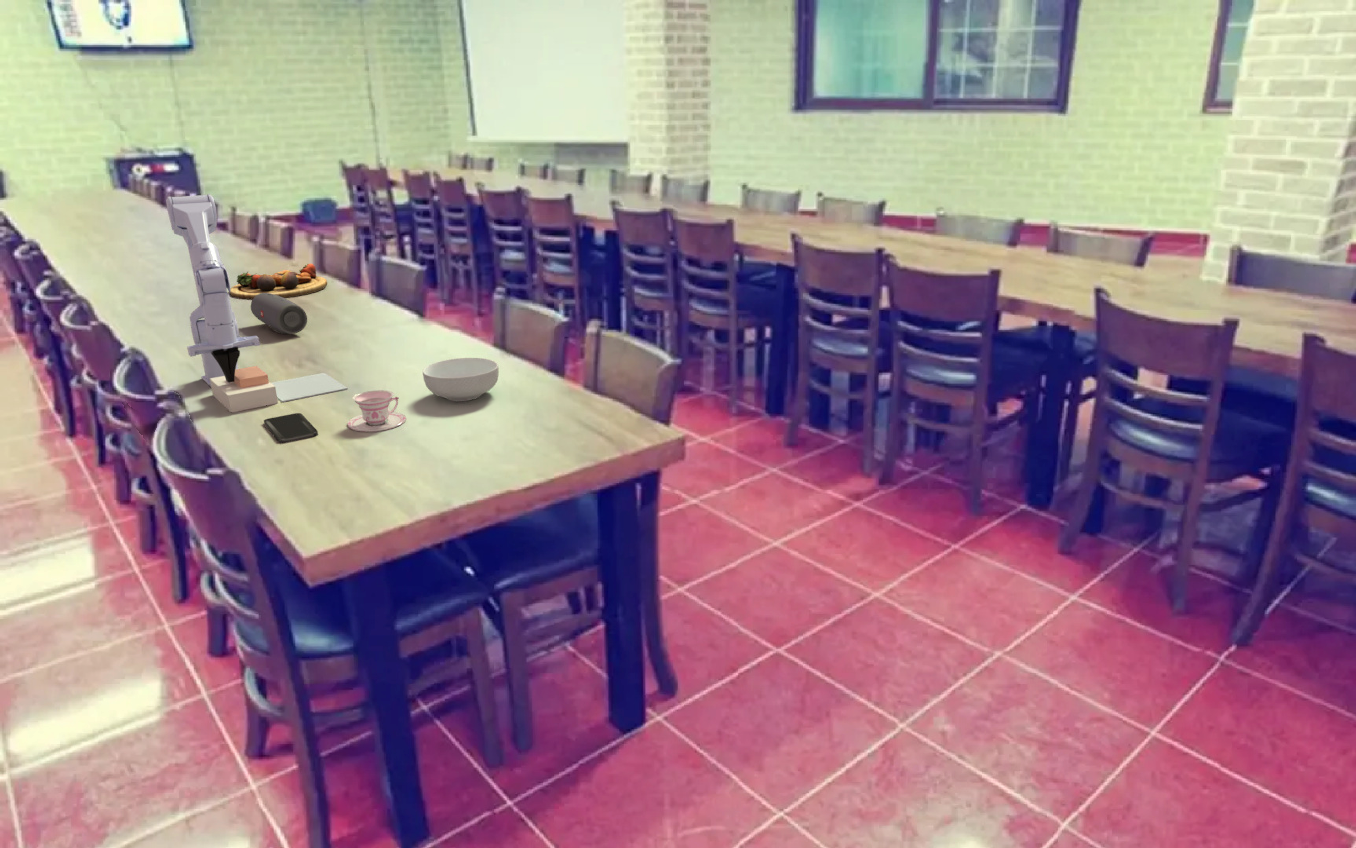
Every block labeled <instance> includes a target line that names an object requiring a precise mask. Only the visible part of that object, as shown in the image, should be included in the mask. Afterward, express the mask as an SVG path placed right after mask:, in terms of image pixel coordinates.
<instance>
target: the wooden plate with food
mask: <svg viewBox="0 0 1356 848" xmlns="http://www.w3.org/2000/svg"><path fill="white" fill-rule="evenodd" d="M236 278H237V279H236V283H237V284H235V285H233V286H231V289H230V293H229V296H232V297H234V298H235V299H242V300H253V298H254V297H255V296H256V295H258V294H260V293H271V294H274V295H277V296H280V297H283V298H285V299H289V298H293V297H299V296H304V295H305V296H306V295H308V294H313V293H316V292H319V291H321V290H323V289H324V288H326V286H327V285H328V280H327V279H326V278H324V277H322V276H317V269H316V266H315V265H314V264H313V263H306V264H305V265H304V266H303V267H302V268H300V269H299V270H298V272H295V271H291V270H288V269H283V270H281V271H278V272H275V273H273V274H266V273H263V274H258V273H256V272H255V274H250V273H249V270H248V271H246V272H242V274H238V275H237V277H236Z"/></svg>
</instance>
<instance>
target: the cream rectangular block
mask: <svg viewBox="0 0 1356 848" xmlns="http://www.w3.org/2000/svg"><path fill="white" fill-rule="evenodd" d="M210 383H211V387H210V388H211V392H212V396H213V395H214V396H215V397H214V396H213V397H214V398H215V399H216V400H217V401H219V402H220V404H221V405H222V406H223V407H225V408H226V410H228V411H229V412H230V413H231V412H232V413H236V412H241V411H247V410H251V409H256V408H262V407H266V405H267V406H271V405H277V404H279V399H278V398H277V394H276V388H275V386H274V385H273V384H272V382H270V381H269V383H267V384H262V385H256V386H251V387H246V388H240V387H239V386H238V385H237V384H236V383H235V382H227V381H226V378H225V376H221V377H215V378H210Z"/></svg>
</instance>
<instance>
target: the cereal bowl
mask: <svg viewBox="0 0 1356 848" xmlns="http://www.w3.org/2000/svg"><path fill="white" fill-rule="evenodd" d="M422 377H423V381H424V383H425V386H426V388H427V389H428V390H429V392H431V393H432V394H434V395H435V396H438V397H442V398H444V399H445V398H446V399H447V400H448V401H452V402H468V401H472V399H473V400H476V399H478V398H480V397H481V396H482V395H483V394H485V393H487V392H489V391H490V390H491V389H492V388H494V387H495V385H496V384H497V382H498V380H499V365H498V362H496V361H494V360H492V359H488V358H482V357H459V358H451V359H450V358H449V359H444V360H440V361H436V362H434V363H433V362H432V363H430V364H429V365H426V366H425V367H424V369H422ZM492 390H493V389H492ZM475 398H476V399H475Z"/></svg>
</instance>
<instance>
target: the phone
mask: <svg viewBox="0 0 1356 848" xmlns="http://www.w3.org/2000/svg"><path fill="white" fill-rule="evenodd" d="M263 424H265V425H264V426H265V427H266V429H267V430H268V431H269V432H270V434H271V435H272V434H273V435H274V436H273V437H274V438H275V440H276V441H277V442H278V443H280V444H285V443H290V442H291V443H292V442H295V441H300V440H305V439H310V438H311V439H312V438H314V437H318V436H319V431H318V430H317V429H316V427H315V426H314V425H313V424H312V423H311V422H310V421H309V420H308V419H307V417H305V416H304V415H303V414H302V413H299V412H296V413H295V412H294V413H290V414H286V415H285V414H284V415H281V416H274V417H270V418H265V419H263Z"/></svg>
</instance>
